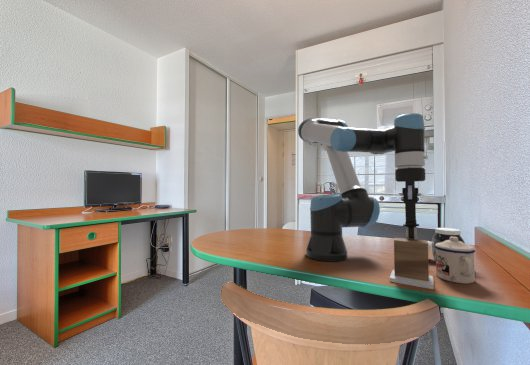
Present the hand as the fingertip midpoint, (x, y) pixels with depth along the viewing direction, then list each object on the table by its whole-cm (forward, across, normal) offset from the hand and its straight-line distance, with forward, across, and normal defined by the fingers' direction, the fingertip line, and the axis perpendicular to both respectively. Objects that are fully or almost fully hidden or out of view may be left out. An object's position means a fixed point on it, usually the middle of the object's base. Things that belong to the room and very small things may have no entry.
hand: (411, 249), depth 70 cm
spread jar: (+8, +21, -8) cm, 24 cm away
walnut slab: (+7, -3, 0) cm, 7 cm away
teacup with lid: (+8, +4, -11) cm, 14 cm away
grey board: (+8, -3, 0) cm, 9 cm away
